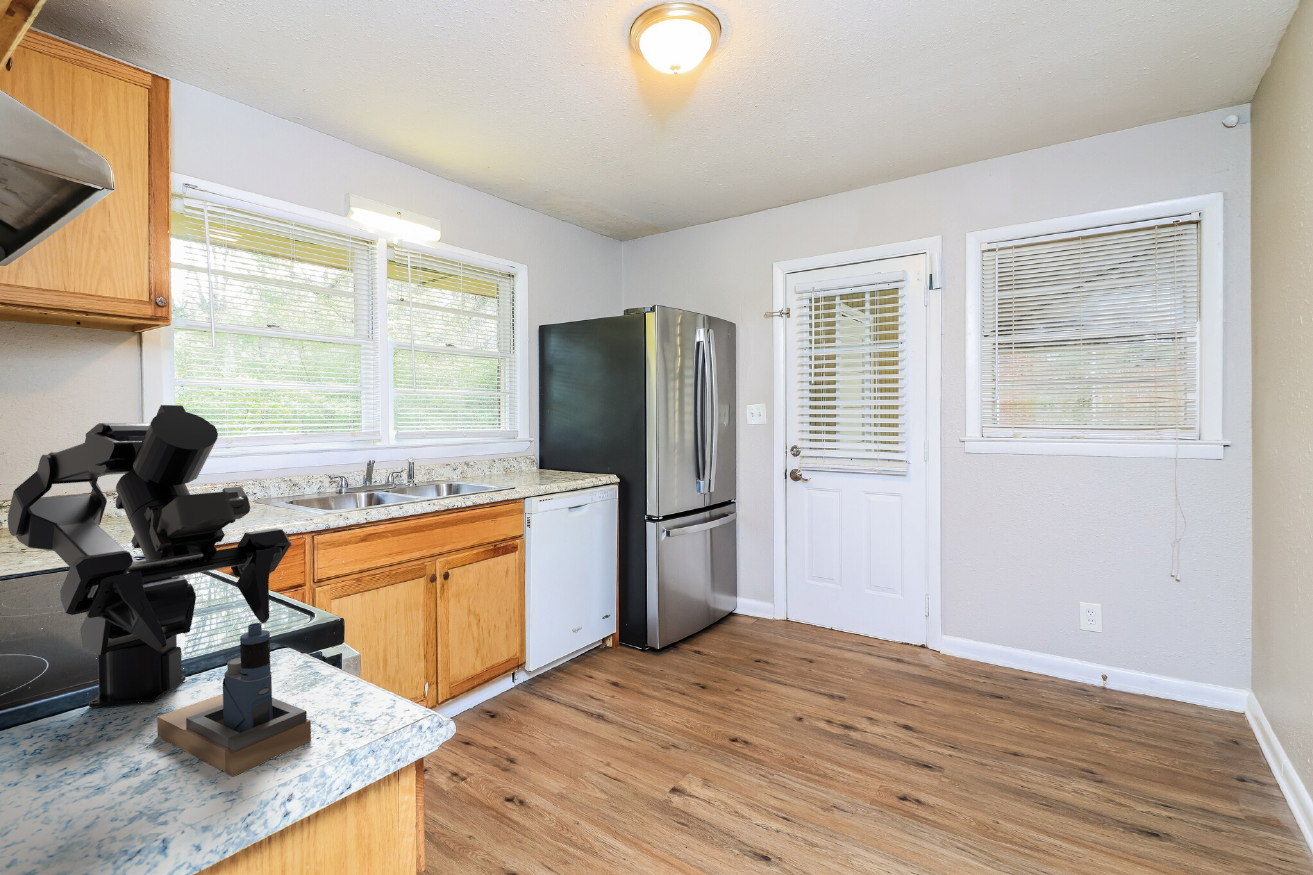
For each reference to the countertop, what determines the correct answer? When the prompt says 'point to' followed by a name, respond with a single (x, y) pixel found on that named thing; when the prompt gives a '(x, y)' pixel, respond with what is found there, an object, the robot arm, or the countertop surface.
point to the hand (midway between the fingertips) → (217, 633)
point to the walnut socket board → (233, 734)
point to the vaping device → (249, 682)
